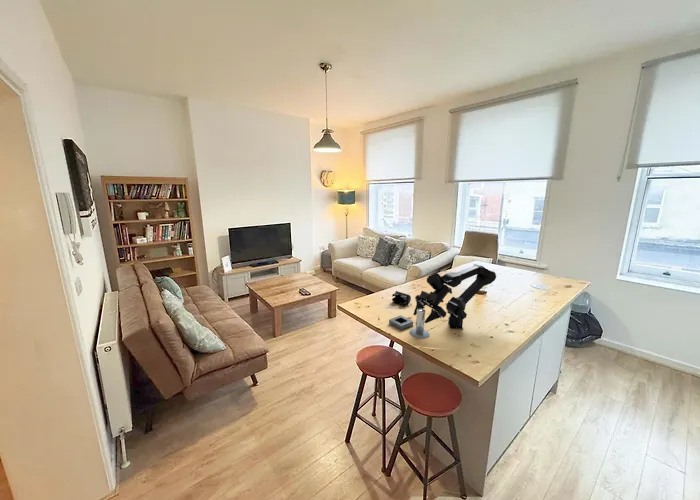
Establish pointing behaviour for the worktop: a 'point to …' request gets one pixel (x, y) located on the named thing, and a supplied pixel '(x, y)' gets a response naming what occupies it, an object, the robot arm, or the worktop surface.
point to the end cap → (401, 298)
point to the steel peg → (420, 321)
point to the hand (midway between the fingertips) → (419, 318)
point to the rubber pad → (413, 333)
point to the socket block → (400, 322)
